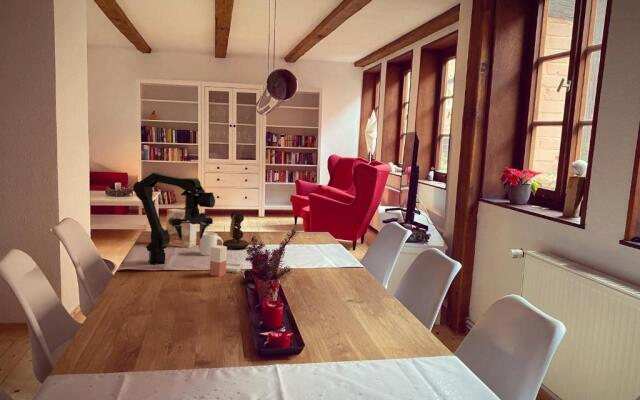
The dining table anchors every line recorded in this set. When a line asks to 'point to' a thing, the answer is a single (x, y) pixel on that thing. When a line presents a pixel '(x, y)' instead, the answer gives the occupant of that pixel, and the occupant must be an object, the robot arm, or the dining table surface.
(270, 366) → the dining table surface
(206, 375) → the dining table surface
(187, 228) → the coffeecake box
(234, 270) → the white tray
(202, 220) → the robot arm
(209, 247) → the mug
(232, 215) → the dark lumpy post
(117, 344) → the dining table surface
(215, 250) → the two tone block
